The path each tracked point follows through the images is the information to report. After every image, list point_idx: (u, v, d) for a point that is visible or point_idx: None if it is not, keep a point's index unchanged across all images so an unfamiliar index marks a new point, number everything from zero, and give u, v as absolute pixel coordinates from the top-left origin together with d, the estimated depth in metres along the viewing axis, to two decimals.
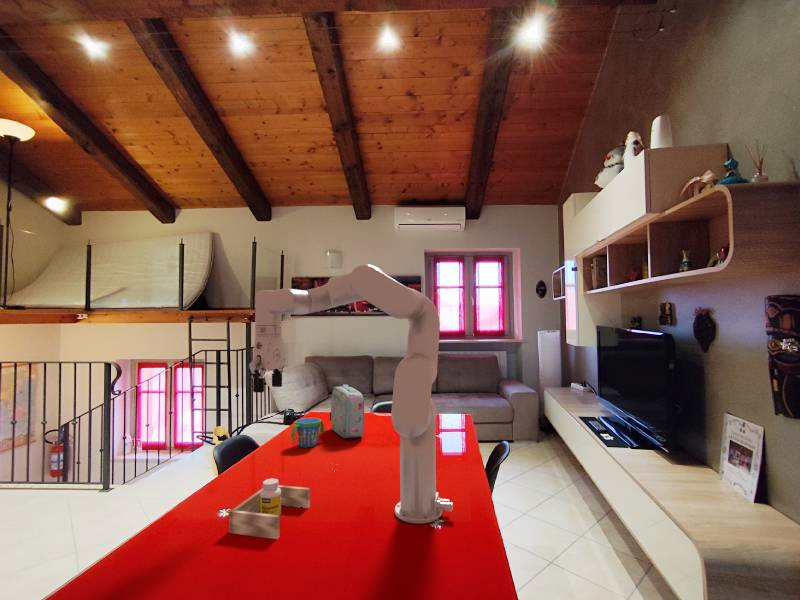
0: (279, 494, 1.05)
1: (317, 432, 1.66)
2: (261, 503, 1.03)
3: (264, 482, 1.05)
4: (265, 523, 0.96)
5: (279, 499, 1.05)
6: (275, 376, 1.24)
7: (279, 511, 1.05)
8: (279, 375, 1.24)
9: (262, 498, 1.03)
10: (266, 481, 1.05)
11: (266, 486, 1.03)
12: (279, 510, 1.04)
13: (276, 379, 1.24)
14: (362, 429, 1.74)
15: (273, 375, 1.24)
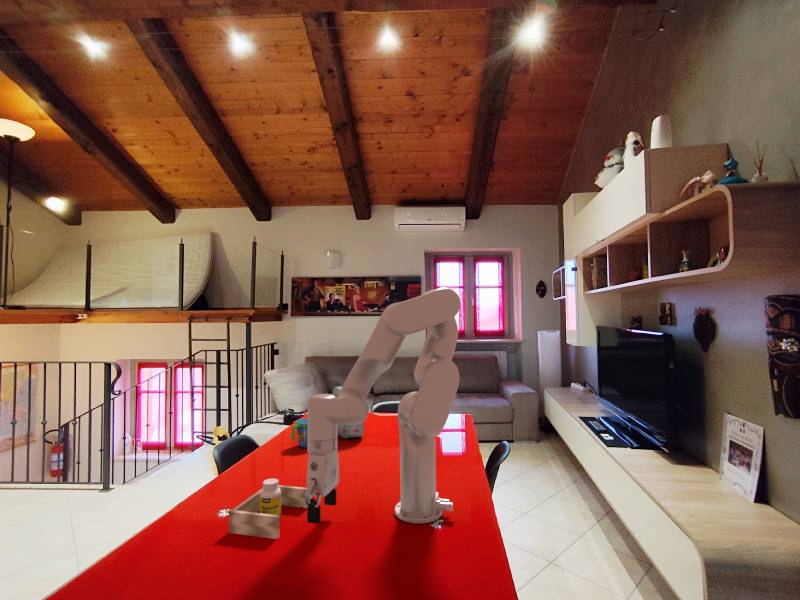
0: (279, 494, 1.05)
1: None
2: (261, 503, 1.03)
3: (264, 482, 1.05)
4: (265, 523, 0.96)
5: (279, 499, 1.05)
6: (328, 492, 1.06)
7: (279, 511, 1.05)
8: (333, 492, 1.06)
9: (262, 498, 1.03)
10: (266, 481, 1.05)
11: (266, 486, 1.03)
12: (279, 510, 1.04)
13: (330, 496, 1.06)
14: (362, 429, 1.74)
15: None
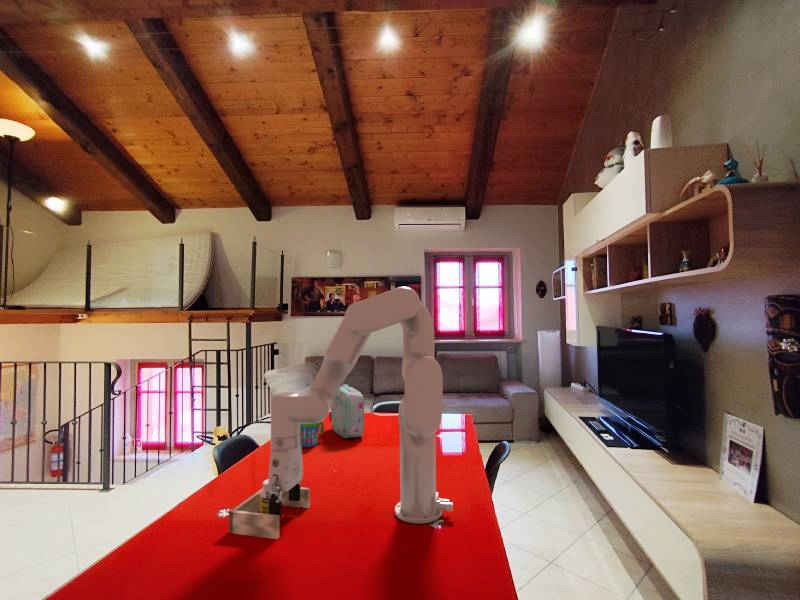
0: None
1: (317, 432, 1.66)
2: (261, 503, 1.03)
3: (264, 482, 1.05)
4: (265, 523, 0.96)
5: None
6: (292, 489, 1.08)
7: None
8: (297, 488, 1.08)
9: (262, 498, 1.03)
10: (266, 481, 1.05)
11: None
12: None
13: (294, 492, 1.08)
14: (362, 429, 1.74)
15: (290, 487, 1.09)
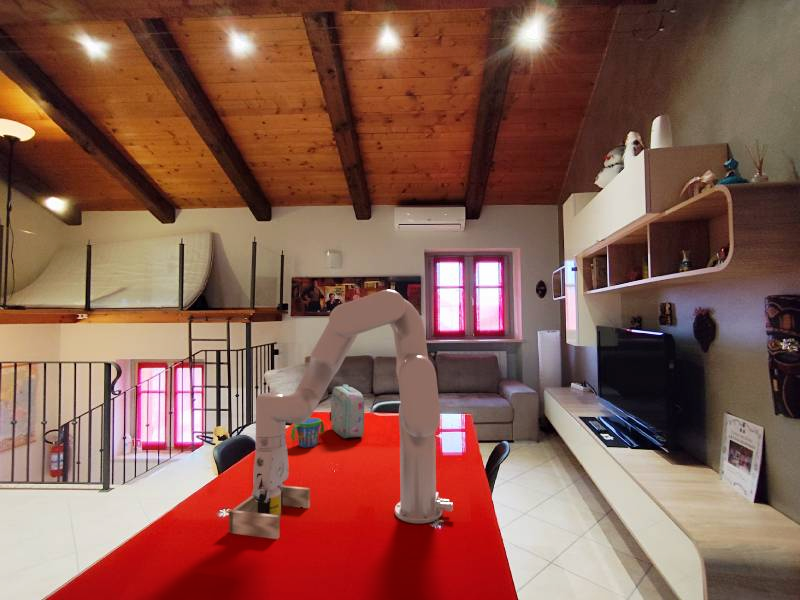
0: (279, 494, 1.05)
1: (317, 432, 1.66)
2: None
3: None
4: (265, 523, 0.96)
5: (279, 499, 1.05)
6: None
7: (279, 511, 1.05)
8: None
9: None
10: None
11: None
12: (279, 510, 1.04)
13: None
14: (362, 429, 1.74)
15: None
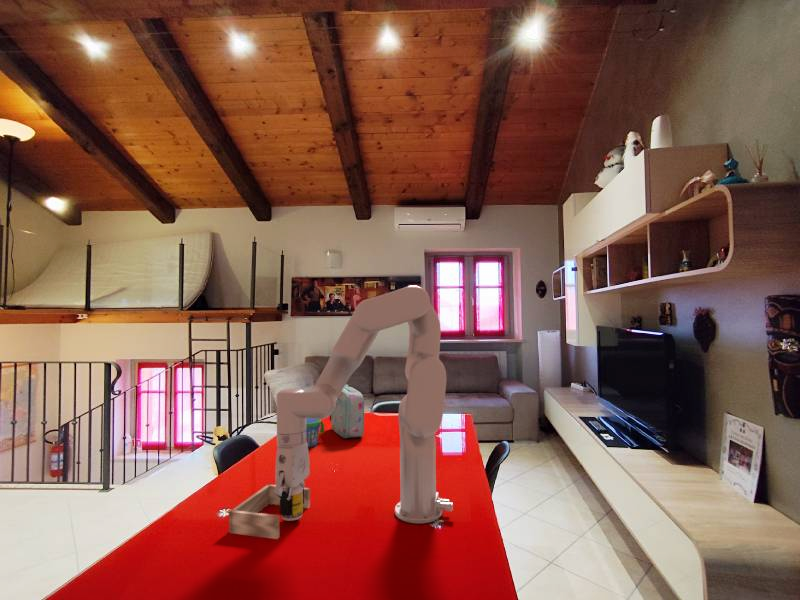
0: (301, 491, 1.03)
1: (317, 432, 1.66)
2: None
3: None
4: (265, 523, 0.96)
5: (301, 497, 1.03)
6: None
7: (302, 508, 1.03)
8: None
9: None
10: None
11: None
12: (301, 507, 1.03)
13: None
14: (362, 429, 1.74)
15: None
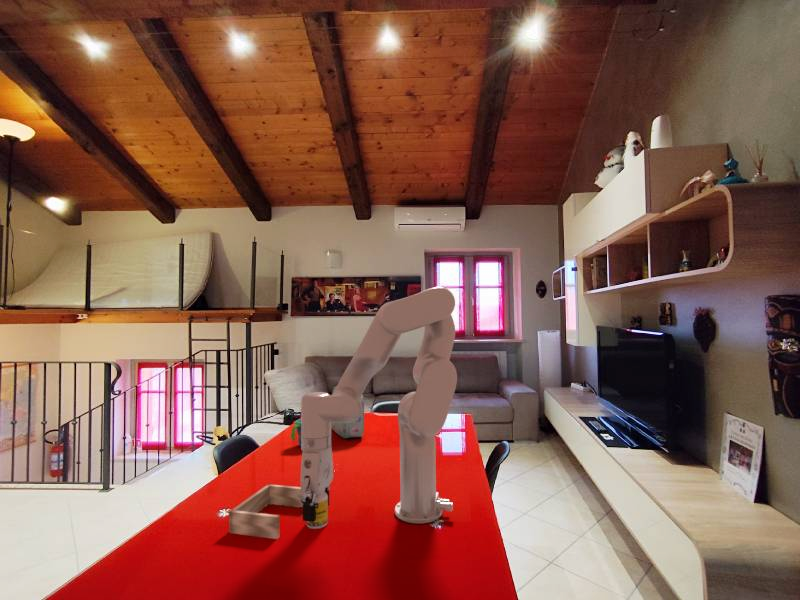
0: (326, 499, 1.01)
1: None
2: None
3: None
4: (265, 523, 0.96)
5: (326, 504, 1.02)
6: None
7: (327, 516, 1.02)
8: None
9: None
10: None
11: None
12: (326, 515, 1.01)
13: None
14: (362, 429, 1.74)
15: None
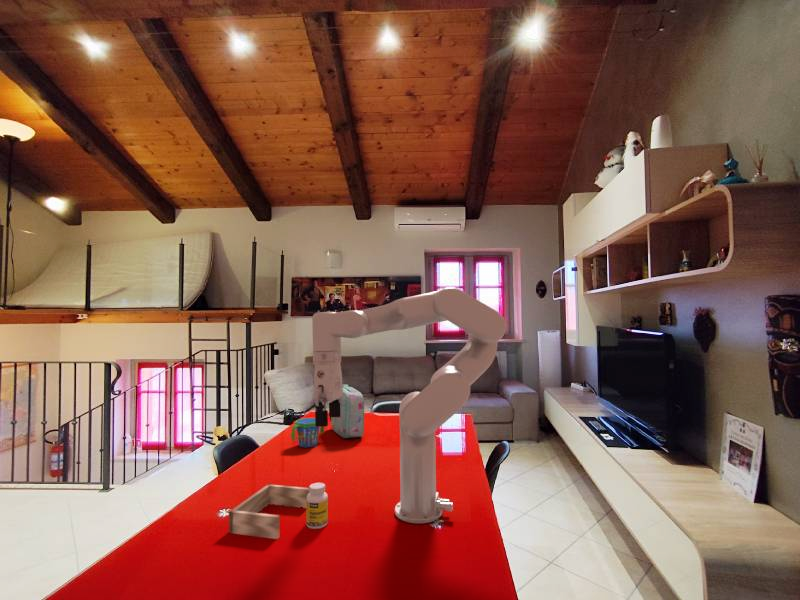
0: (326, 499, 1.01)
1: (317, 432, 1.66)
2: (308, 508, 1.00)
3: (311, 486, 1.02)
4: (265, 523, 0.96)
5: (326, 504, 1.02)
6: (333, 405, 1.13)
7: (327, 516, 1.02)
8: (337, 404, 1.13)
9: (309, 503, 1.00)
10: (312, 485, 1.02)
11: (314, 491, 1.00)
12: (326, 515, 1.01)
13: (334, 409, 1.13)
14: (362, 429, 1.74)
15: (330, 404, 1.13)
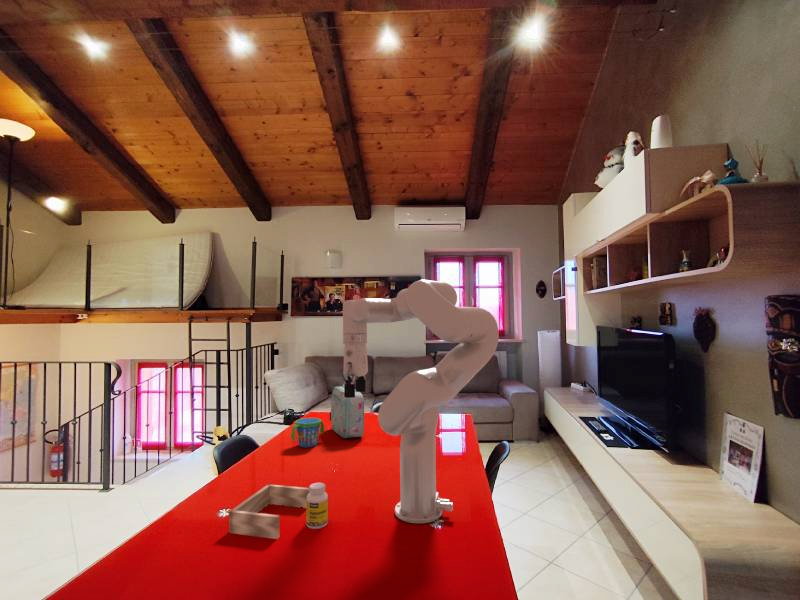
0: (326, 499, 1.01)
1: (317, 432, 1.66)
2: (308, 508, 1.00)
3: (311, 486, 1.02)
4: (265, 523, 0.96)
5: (326, 504, 1.02)
6: (359, 382, 1.30)
7: (327, 516, 1.02)
8: (363, 381, 1.30)
9: (309, 503, 1.00)
10: (313, 485, 1.02)
11: (314, 491, 1.00)
12: (326, 515, 1.01)
13: (360, 384, 1.30)
14: (362, 429, 1.74)
15: (357, 381, 1.30)
